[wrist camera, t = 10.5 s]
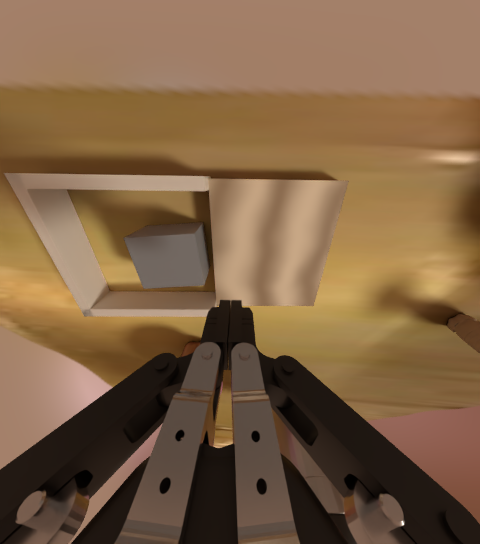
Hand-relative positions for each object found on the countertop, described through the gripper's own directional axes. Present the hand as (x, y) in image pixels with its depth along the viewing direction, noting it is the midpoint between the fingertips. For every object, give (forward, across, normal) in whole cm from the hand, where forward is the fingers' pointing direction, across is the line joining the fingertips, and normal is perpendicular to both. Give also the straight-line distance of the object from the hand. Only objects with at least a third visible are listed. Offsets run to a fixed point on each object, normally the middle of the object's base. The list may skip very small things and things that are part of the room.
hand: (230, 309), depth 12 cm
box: (+12, +11, 0) cm, 16 cm away
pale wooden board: (+12, -4, 0) cm, 13 cm away
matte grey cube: (+12, +7, 0) cm, 14 cm away
